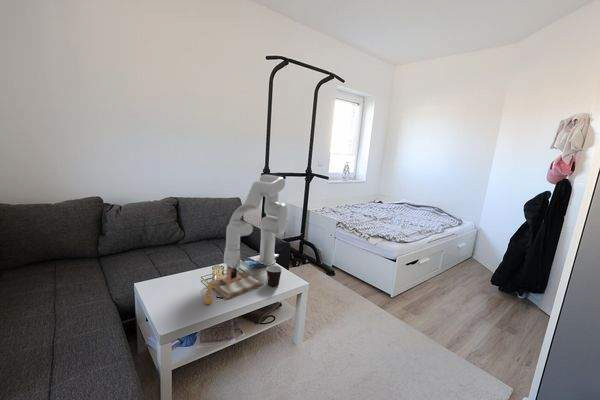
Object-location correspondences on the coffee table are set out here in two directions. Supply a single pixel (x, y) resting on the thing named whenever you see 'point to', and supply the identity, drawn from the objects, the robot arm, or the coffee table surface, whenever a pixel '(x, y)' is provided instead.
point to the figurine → (208, 298)
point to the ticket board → (236, 286)
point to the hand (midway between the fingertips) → (231, 276)
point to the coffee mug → (273, 275)
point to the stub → (228, 278)
